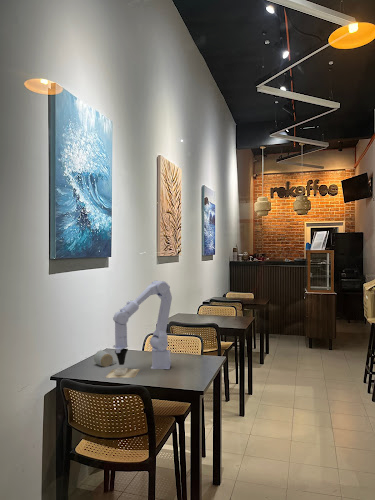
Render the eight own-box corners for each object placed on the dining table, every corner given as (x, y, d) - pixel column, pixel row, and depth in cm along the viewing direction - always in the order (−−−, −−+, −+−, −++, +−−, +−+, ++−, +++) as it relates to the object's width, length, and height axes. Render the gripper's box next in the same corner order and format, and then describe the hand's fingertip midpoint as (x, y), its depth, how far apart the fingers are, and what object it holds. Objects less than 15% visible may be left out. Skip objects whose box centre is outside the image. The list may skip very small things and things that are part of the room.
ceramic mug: (101, 369, 205) (101, 353, 206) (93, 366, 212) (93, 351, 212) (119, 365, 212) (119, 350, 212) (111, 362, 218) (111, 348, 219)
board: (140, 370, 201) (140, 369, 201) (134, 378, 187) (134, 377, 187) (112, 370, 202) (112, 369, 202) (105, 378, 188) (105, 377, 188)
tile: (127, 367, 197) (124, 371, 191) (127, 371, 197) (124, 375, 191) (117, 367, 198) (114, 371, 191) (117, 371, 198) (114, 375, 191)
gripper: (116, 333, 204) (117, 360, 204) (109, 339, 189) (109, 368, 189) (130, 333, 203) (131, 360, 203) (123, 339, 189) (124, 368, 189)
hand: (121, 364), depth 196 cm, fingers closed
